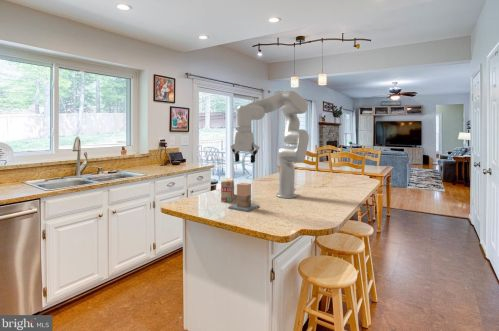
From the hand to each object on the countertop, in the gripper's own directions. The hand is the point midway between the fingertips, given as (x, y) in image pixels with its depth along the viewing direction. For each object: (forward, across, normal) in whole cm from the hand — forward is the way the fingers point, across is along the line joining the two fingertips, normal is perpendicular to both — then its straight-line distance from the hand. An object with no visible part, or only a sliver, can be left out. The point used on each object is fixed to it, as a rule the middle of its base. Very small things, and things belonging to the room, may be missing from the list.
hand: (244, 162), depth 165 cm
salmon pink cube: (+18, 0, -1) cm, 18 cm away
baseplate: (+25, 0, -1) cm, 25 cm away
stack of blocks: (+25, -21, +13) cm, 36 cm away
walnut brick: (+24, 0, -1) cm, 24 cm away
